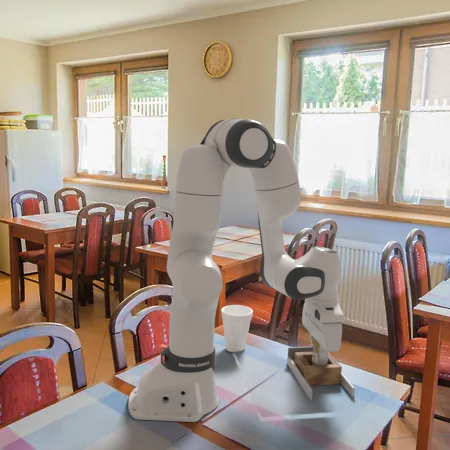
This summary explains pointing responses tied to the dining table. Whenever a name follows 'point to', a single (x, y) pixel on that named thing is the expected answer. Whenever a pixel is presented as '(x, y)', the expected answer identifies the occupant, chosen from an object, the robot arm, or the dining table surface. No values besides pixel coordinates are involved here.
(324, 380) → the crate
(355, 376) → the dining table surface
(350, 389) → the bay
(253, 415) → the dining table surface
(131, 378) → the dining table surface
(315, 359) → the sprinkles bottle
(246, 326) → the cup
